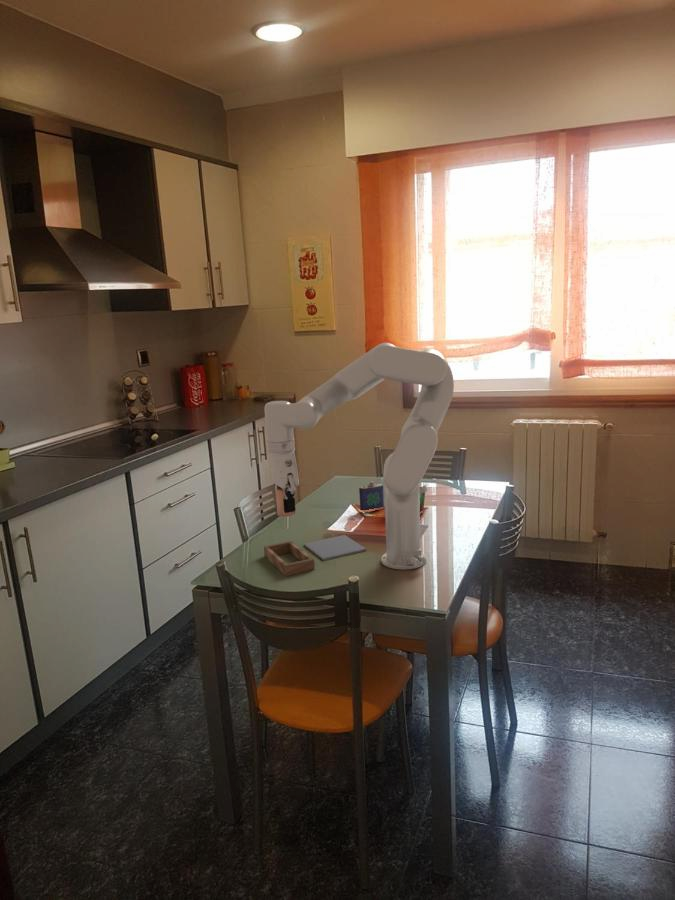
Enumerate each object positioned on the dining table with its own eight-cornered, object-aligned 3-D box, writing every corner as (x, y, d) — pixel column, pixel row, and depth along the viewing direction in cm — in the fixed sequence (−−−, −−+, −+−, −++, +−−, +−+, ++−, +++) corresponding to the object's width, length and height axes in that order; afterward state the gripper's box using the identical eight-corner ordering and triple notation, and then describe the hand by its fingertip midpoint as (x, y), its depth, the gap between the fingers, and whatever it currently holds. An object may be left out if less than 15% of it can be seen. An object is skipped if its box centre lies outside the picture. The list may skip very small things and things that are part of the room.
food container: (389, 517, 223) (388, 488, 221) (392, 511, 229) (391, 483, 227) (425, 518, 220) (425, 489, 218) (427, 512, 226) (427, 484, 224)
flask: (382, 507, 234) (381, 478, 232) (386, 509, 232) (385, 480, 229) (358, 511, 231) (357, 482, 228) (362, 514, 228) (361, 484, 225)
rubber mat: (366, 550, 194) (366, 548, 194) (323, 560, 189) (323, 558, 188) (344, 536, 207) (344, 534, 207) (303, 545, 201) (303, 543, 201)
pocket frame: (314, 569, 183) (314, 559, 182) (285, 576, 179) (285, 565, 178) (291, 550, 198) (290, 540, 197) (264, 556, 194) (263, 546, 193)
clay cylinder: (298, 514, 184) (296, 490, 182) (281, 517, 182) (279, 493, 180) (291, 509, 188) (289, 486, 187) (274, 513, 186) (272, 489, 185)
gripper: (305, 449, 175) (310, 514, 179) (282, 439, 190) (287, 499, 194) (279, 453, 172) (284, 520, 176) (257, 443, 187) (263, 504, 191)
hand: (286, 508), depth 185 cm, fingers closed on clay cylinder, 5 cm apart
